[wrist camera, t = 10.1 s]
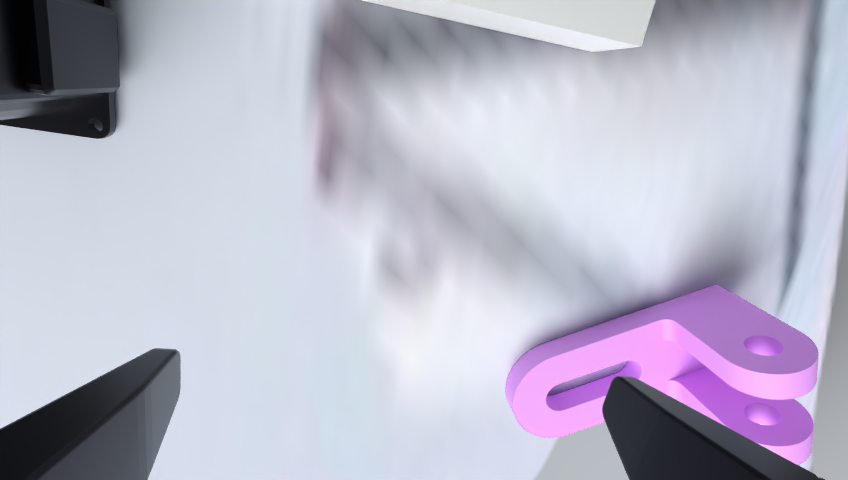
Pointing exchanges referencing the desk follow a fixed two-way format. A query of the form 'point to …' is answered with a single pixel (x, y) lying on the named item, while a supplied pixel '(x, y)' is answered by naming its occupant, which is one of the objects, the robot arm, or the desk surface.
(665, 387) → the bracket
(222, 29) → the desk surface
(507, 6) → the hole block
